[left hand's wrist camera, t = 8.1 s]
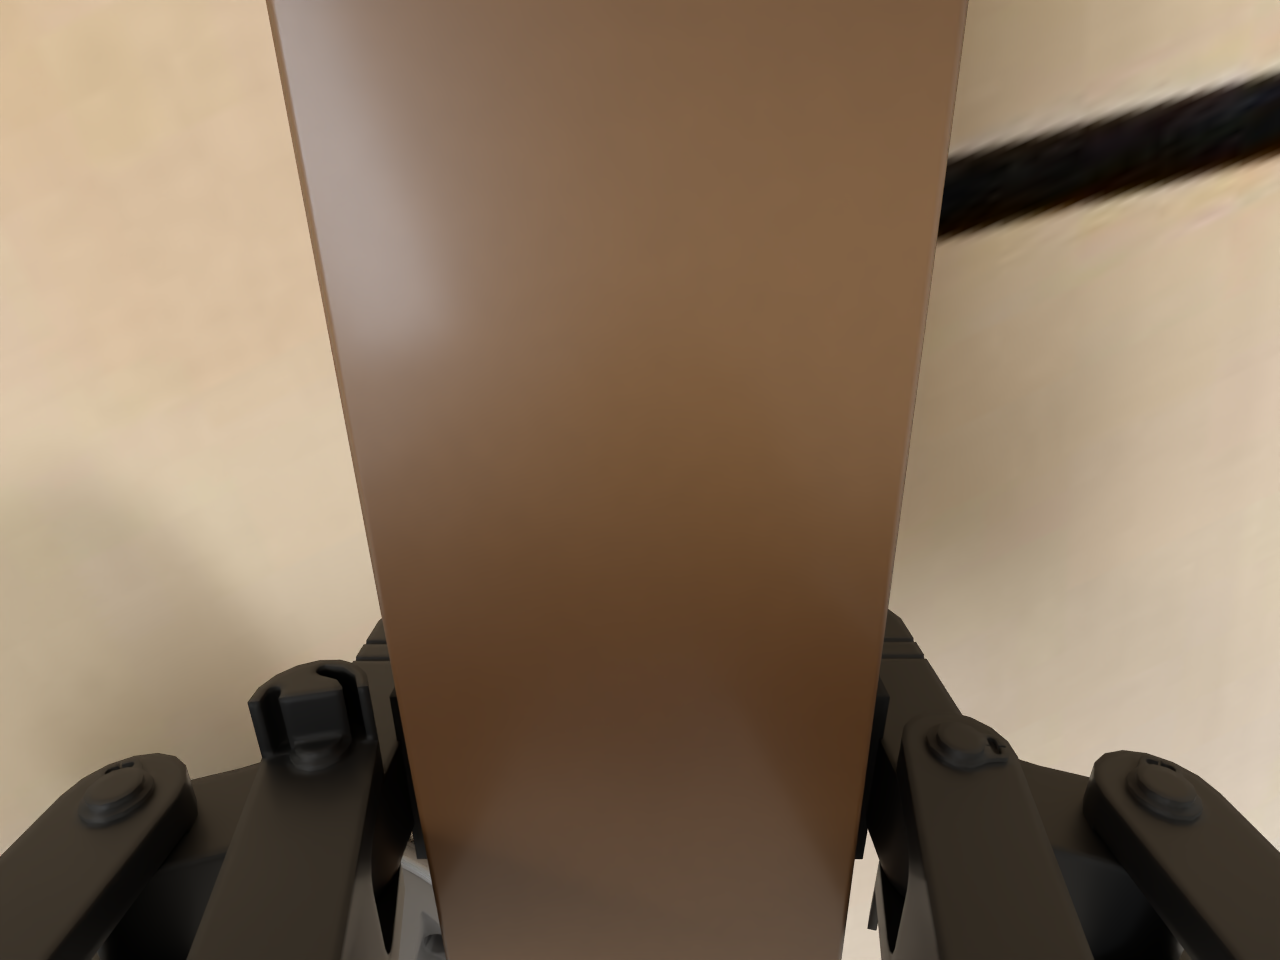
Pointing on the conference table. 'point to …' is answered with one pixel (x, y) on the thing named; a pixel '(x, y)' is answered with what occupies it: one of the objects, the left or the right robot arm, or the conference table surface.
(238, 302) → the conference table surface
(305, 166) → the post
